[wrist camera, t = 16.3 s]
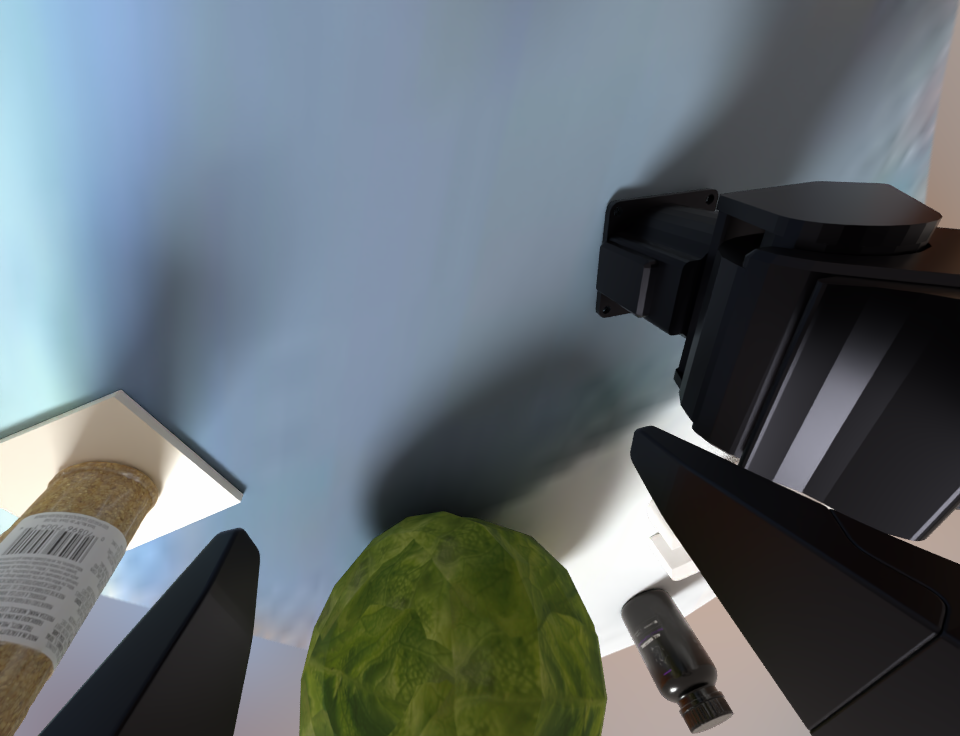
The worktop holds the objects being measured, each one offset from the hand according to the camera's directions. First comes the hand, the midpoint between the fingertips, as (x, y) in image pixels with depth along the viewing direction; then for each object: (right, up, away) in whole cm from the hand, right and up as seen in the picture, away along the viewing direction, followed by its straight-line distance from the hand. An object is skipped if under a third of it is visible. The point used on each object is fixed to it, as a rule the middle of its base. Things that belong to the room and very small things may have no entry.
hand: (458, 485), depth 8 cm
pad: (-20, -4, +12) cm, 24 cm away
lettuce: (-1, -13, +24) cm, 27 cm away
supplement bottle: (+22, -28, +39) cm, 53 cm away
